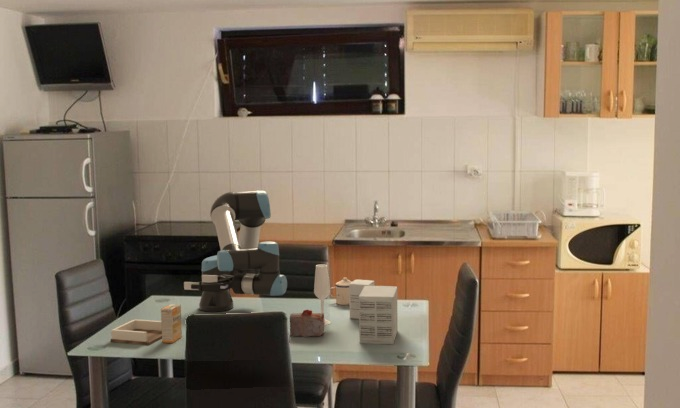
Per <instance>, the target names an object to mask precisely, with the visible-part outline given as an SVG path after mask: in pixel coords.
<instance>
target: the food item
mask: <svg viewBox="0 0 680 408" xmlns="http://www.w3.org/2000/svg"><path fill="white" fill-rule="evenodd" d="M324 318H325V313H324V314H323V313H321V312H320V313H315V312H314V313H313V310H309V309H304V310H303V312H293V313H291V314H290V316H289V327H290V328H289V337H303V338H309V337H320V336H322V335H323V333H325V325H324V320H325V319H326V318H325V319H324Z"/></svg>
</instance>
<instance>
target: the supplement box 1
mask: <svg viewBox="0 0 680 408" xmlns="http://www.w3.org/2000/svg"><path fill="white" fill-rule="evenodd" d="M160 321H161V326H162V339H161V343H169V344H173V343H175V342H176V341H177V340H179V339H181V338H182V337H183V330H182V305H181V304H178V303H169V304H168V305H166V306H165V307H163V308H161V309H160Z"/></svg>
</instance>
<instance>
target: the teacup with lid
mask: <svg viewBox="0 0 680 408" xmlns="http://www.w3.org/2000/svg"><path fill="white" fill-rule="evenodd" d="M351 282H353V281H351V280H350V279H348V277H342V279H341V280H339V281H337V282H336V283H335V285H334V286H332V287H331V286H330V294H329V296H330V297H331V298H334V299H335V302H336V305H341V306H349V284H350V283H351ZM334 289H335V295H333V294H332V290H334Z"/></svg>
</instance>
